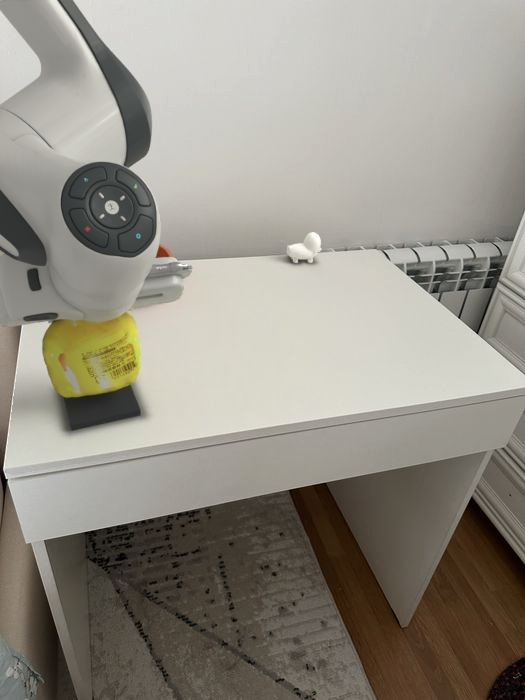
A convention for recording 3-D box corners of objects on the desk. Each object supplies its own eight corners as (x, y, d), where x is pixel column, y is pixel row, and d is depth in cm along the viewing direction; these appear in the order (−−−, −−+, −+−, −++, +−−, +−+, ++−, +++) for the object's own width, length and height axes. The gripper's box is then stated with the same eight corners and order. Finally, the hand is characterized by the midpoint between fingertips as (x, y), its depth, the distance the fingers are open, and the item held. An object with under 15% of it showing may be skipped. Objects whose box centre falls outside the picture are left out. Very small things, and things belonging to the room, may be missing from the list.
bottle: (55, 412, 67) (24, 270, 56) (48, 383, 72) (18, 245, 61) (148, 391, 72) (137, 255, 60) (136, 364, 77) (124, 233, 65)
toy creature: (323, 264, 115) (327, 237, 111) (287, 265, 113) (291, 237, 110) (316, 255, 119) (321, 228, 115) (282, 255, 117) (285, 228, 113)
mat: (71, 430, 69) (70, 425, 68) (61, 388, 75) (60, 383, 75) (140, 415, 72) (140, 409, 72) (125, 376, 79) (125, 370, 78)
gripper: (189, 234, 57) (165, 275, 70) (-21, 257, 50) (-5, 297, 62) (203, 290, 57) (176, 321, 69) (-9, 322, 49) (5, 349, 62)
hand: (89, 310), depth 66 cm, fingers closed on bottle, 7 cm apart
